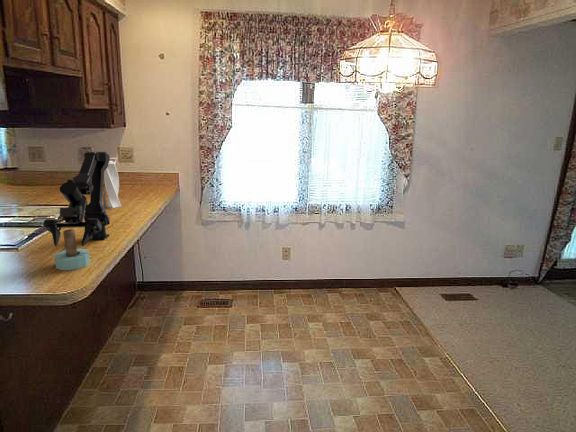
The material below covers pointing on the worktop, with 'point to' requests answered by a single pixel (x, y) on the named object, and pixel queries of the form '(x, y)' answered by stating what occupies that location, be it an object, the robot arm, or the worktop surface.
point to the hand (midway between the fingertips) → (69, 245)
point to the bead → (72, 260)
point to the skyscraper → (111, 186)
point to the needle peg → (70, 243)
